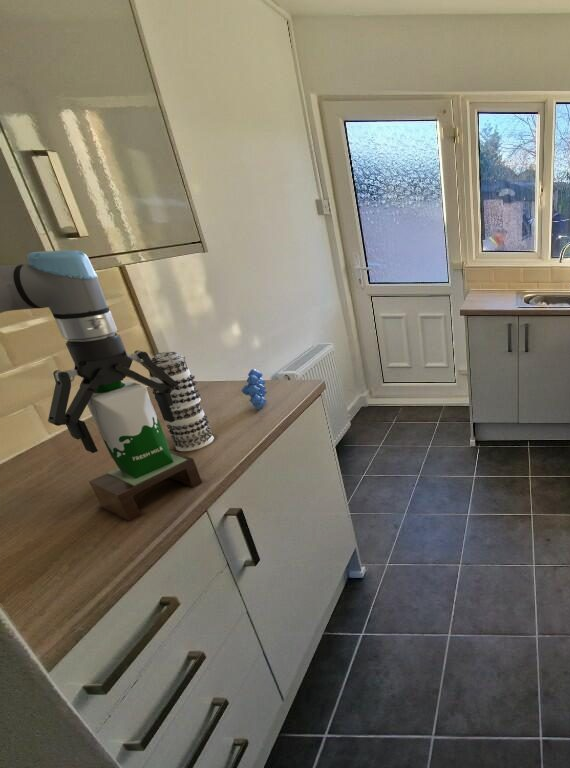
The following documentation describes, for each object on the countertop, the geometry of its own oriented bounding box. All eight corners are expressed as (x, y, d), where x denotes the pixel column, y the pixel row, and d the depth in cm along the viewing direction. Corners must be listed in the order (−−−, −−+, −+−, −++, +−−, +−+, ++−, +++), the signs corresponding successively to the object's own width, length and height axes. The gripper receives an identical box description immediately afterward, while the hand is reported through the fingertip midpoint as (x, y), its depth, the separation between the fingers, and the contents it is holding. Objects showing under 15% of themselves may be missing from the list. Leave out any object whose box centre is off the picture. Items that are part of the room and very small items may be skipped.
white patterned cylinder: (172, 456, 105) (135, 364, 95) (175, 440, 112) (141, 353, 102) (215, 445, 110) (184, 356, 100) (215, 431, 117) (187, 346, 107)
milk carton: (160, 450, 95) (127, 370, 87) (181, 461, 91) (148, 377, 83) (112, 470, 88) (71, 384, 80) (132, 482, 84) (91, 393, 76)
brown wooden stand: (101, 506, 88) (88, 480, 85) (173, 471, 99) (164, 447, 97) (129, 521, 83) (116, 494, 81) (202, 482, 95) (192, 457, 92)
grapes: (250, 400, 135) (240, 366, 131) (273, 397, 137) (264, 363, 133) (242, 416, 125) (230, 379, 120) (267, 412, 127) (257, 376, 122)
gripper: (5, 359, 66) (62, 470, 74) (176, 323, 87) (206, 413, 95) (-14, 353, 69) (43, 461, 77) (156, 319, 90) (186, 407, 98)
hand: (133, 434), depth 86 cm, fingers open, 13 cm apart
